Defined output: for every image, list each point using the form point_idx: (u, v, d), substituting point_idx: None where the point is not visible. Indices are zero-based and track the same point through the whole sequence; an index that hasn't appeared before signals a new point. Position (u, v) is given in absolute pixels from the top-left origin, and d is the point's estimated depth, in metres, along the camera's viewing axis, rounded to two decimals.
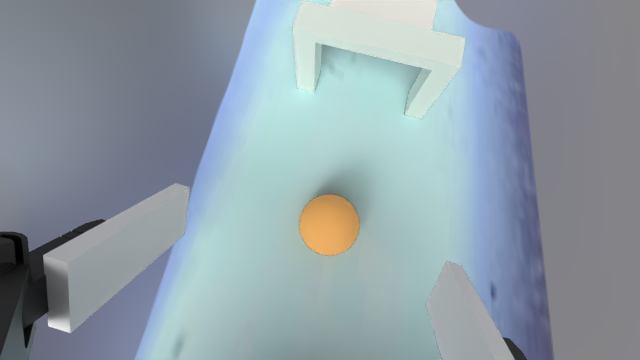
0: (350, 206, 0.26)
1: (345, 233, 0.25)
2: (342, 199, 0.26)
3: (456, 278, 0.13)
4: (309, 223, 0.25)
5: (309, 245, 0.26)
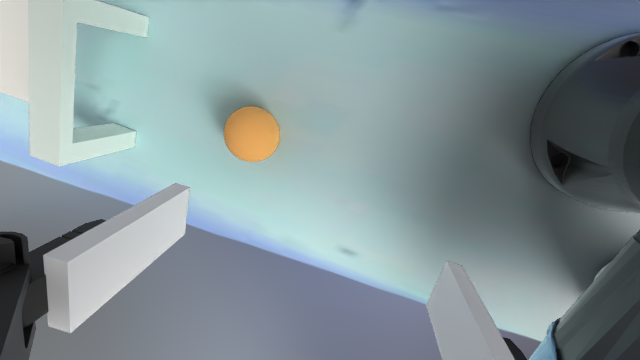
0: (232, 116, 0.28)
1: (254, 125, 0.27)
2: (226, 123, 0.29)
3: (457, 279, 0.13)
4: (246, 156, 0.29)
5: (268, 155, 0.30)
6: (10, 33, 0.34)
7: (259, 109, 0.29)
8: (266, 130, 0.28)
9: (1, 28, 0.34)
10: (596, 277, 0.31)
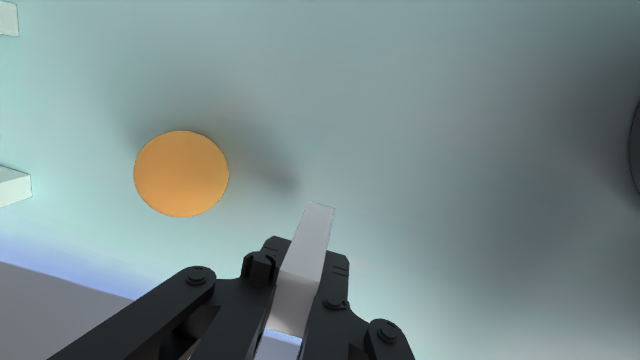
0: (142, 151, 0.17)
1: (175, 165, 0.17)
2: (135, 162, 0.18)
3: (320, 214, 0.15)
4: (171, 212, 0.18)
5: (210, 205, 0.19)
6: None
7: (187, 135, 0.18)
8: (198, 170, 0.17)
9: None
10: None
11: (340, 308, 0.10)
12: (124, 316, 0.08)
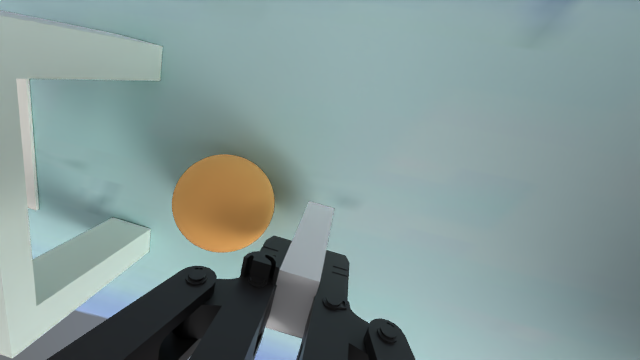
0: None
1: None
2: None
3: (320, 214, 0.15)
4: None
5: None
6: None
7: (229, 155, 0.16)
8: None
9: None
10: None
11: (340, 307, 0.10)
12: (124, 316, 0.08)
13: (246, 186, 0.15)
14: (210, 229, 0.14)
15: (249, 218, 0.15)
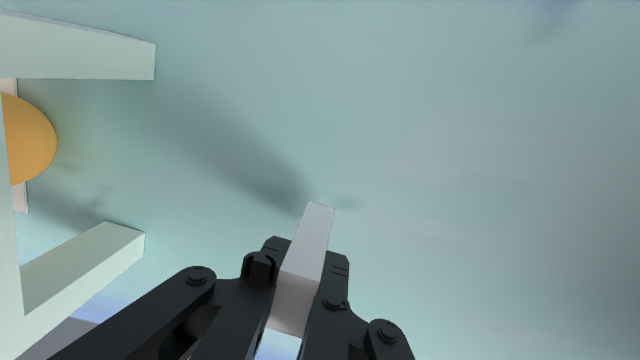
0: None
1: None
2: None
3: (320, 214, 0.15)
4: None
5: None
6: None
7: None
8: None
9: None
10: None
11: (340, 308, 0.10)
12: (124, 316, 0.08)
13: (35, 112, 0.17)
14: (30, 156, 0.17)
15: (53, 137, 0.18)
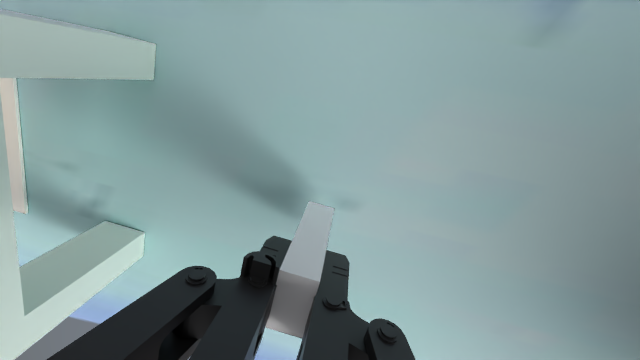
0: None
1: None
2: None
3: (320, 214, 0.15)
4: None
5: None
6: None
7: None
8: None
9: None
10: None
11: (340, 308, 0.10)
12: (124, 316, 0.08)
13: None
14: None
15: None
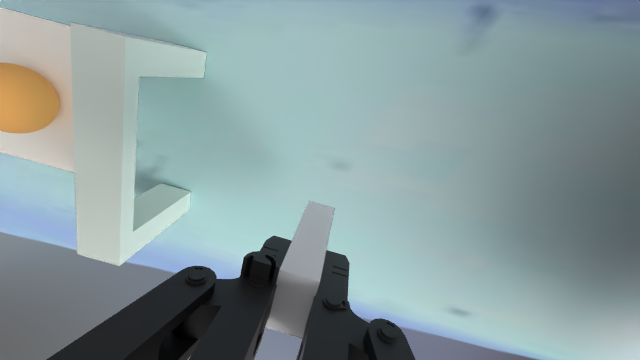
0: (39, 89, 0.24)
1: None
2: (39, 101, 0.23)
3: (320, 214, 0.15)
4: None
5: None
6: None
7: (18, 65, 0.24)
8: None
9: None
10: None
11: (340, 307, 0.10)
12: (124, 316, 0.08)
13: None
14: None
15: None
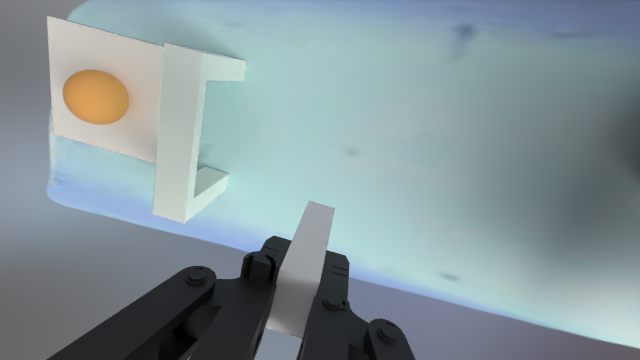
0: (118, 90, 0.30)
1: None
2: (118, 99, 0.30)
3: (320, 214, 0.15)
4: None
5: None
6: None
7: (102, 71, 0.30)
8: None
9: None
10: None
11: (340, 308, 0.10)
12: (124, 316, 0.08)
13: (76, 77, 0.29)
14: (63, 94, 0.30)
15: (68, 92, 0.28)
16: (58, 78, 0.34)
